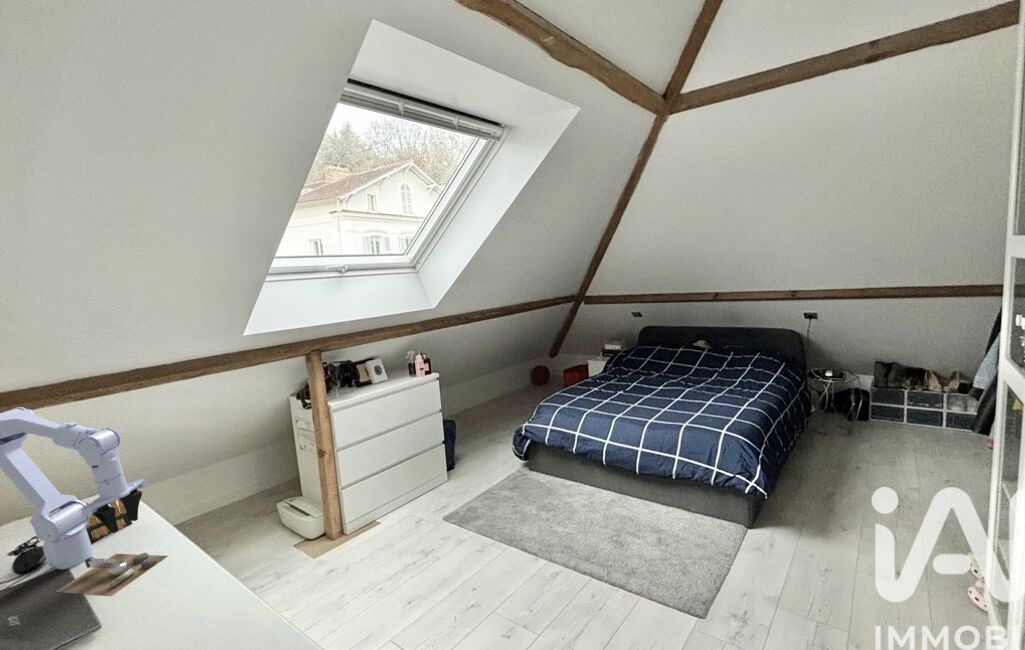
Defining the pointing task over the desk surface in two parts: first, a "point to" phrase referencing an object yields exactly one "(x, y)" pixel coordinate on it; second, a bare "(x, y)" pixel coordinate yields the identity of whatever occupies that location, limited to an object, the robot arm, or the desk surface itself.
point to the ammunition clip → (103, 529)
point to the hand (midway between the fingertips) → (124, 525)
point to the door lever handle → (108, 565)
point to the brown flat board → (103, 584)
